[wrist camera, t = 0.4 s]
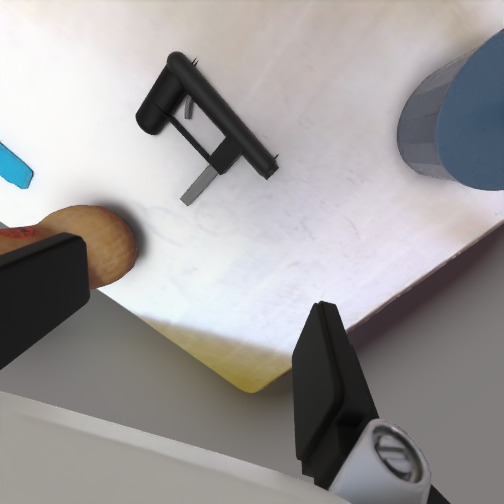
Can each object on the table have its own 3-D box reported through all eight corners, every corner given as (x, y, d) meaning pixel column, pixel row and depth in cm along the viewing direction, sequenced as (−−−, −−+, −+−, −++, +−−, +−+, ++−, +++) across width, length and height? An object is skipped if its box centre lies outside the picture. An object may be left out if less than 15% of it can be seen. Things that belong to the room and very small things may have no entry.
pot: (427, 48, 28) (492, 2, 20) (541, 71, 28) (657, 35, 19) (380, 165, 34) (413, 169, 25) (474, 186, 33) (540, 198, 25)
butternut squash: (143, 199, 40) (-39, 262, 17) (155, 268, 46) (28, 385, 23) (70, 197, 42) (-185, 252, 19) (90, 264, 47) (-90, 369, 24)
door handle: (211, 233, 39) (286, 161, 32) (114, 137, 35) (176, 32, 28) (217, 226, 42) (286, 160, 35) (128, 137, 37) (187, 43, 31)
